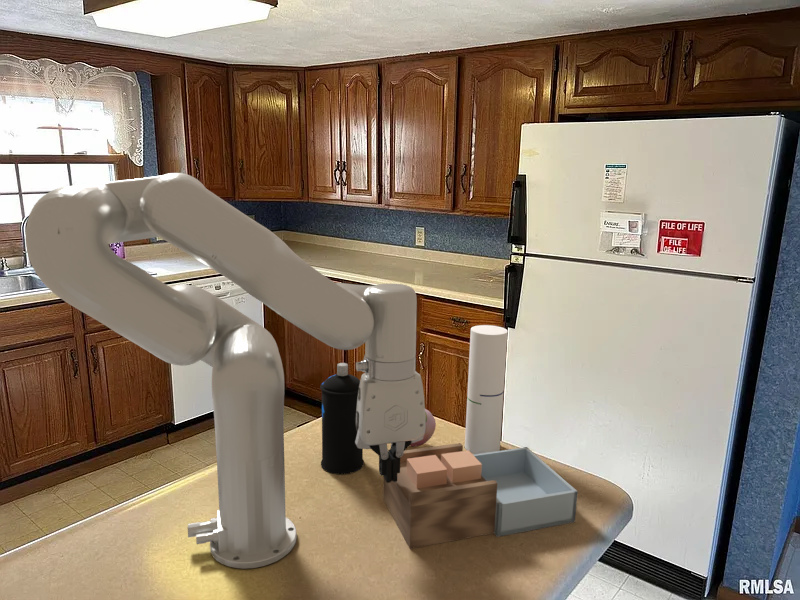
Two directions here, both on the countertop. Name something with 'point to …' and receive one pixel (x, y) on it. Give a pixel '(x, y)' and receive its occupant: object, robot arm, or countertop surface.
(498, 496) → the bin
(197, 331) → the robot arm
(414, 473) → the tile
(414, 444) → the decorative fruit
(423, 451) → the brown wooden box
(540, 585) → the countertop surface
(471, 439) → the cylindrical container
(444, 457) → the tile
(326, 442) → the aerosol can
